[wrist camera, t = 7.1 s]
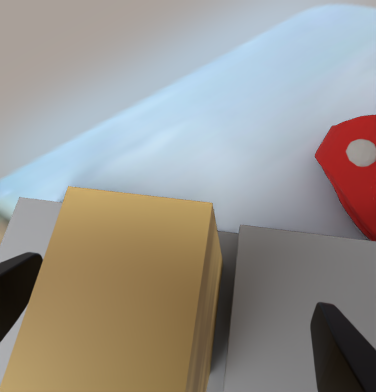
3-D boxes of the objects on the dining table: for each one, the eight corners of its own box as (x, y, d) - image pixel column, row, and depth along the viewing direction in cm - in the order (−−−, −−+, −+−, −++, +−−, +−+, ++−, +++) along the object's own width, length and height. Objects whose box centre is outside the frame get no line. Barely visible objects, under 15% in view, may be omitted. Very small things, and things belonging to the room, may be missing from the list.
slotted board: (428, 475, 12) (491, 533, 9) (-3, 358, 16) (-51, 373, 14) (405, 257, 15) (446, 250, 12) (49, 210, 20) (19, 197, 17)
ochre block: (209, 374, 14) (138, 716, 3) (157, 361, 15) (-75, 603, 3) (223, 263, 16) (212, 203, 5) (176, 255, 16) (68, 186, 5)
